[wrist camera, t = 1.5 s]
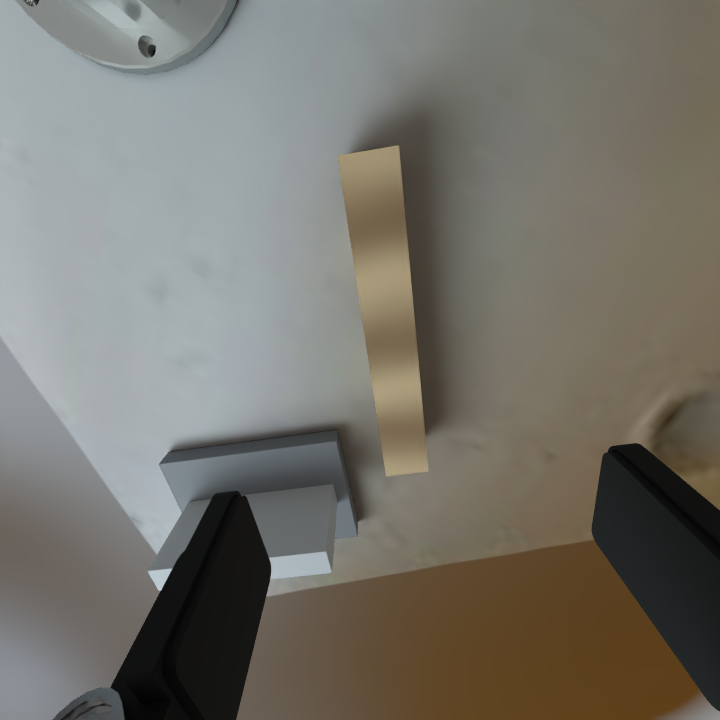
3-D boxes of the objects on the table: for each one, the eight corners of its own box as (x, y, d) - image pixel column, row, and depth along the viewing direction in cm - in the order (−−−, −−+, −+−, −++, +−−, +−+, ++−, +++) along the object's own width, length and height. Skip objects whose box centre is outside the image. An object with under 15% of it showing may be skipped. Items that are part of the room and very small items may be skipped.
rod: (341, 165, 21) (337, 155, 17) (392, 156, 21) (398, 145, 17) (382, 442, 28) (386, 476, 25) (419, 437, 28) (428, 471, 25)
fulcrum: (168, 452, 29) (106, 529, 22) (337, 429, 28) (329, 502, 21) (208, 539, 32) (166, 628, 25) (357, 522, 31) (356, 609, 25)
